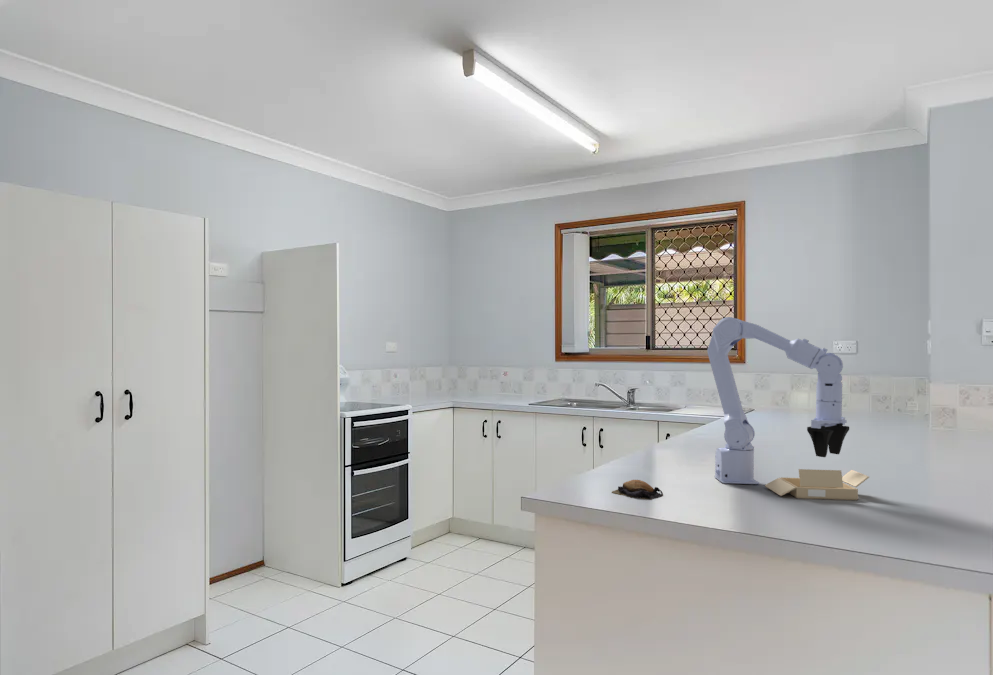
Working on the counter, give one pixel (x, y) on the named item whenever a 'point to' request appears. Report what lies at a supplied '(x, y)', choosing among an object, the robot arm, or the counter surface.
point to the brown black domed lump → (638, 490)
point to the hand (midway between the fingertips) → (827, 455)
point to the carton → (811, 490)
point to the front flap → (820, 478)
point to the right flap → (854, 478)
